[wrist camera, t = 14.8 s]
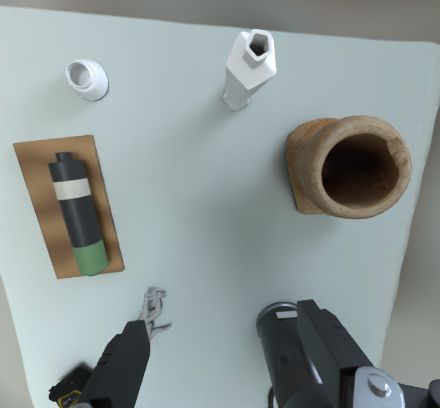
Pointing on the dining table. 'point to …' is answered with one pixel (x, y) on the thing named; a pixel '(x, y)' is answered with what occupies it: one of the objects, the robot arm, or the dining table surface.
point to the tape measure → (69, 388)
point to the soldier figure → (152, 314)
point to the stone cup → (347, 166)
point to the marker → (79, 213)
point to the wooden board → (49, 205)
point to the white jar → (87, 79)
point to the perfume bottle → (248, 67)
